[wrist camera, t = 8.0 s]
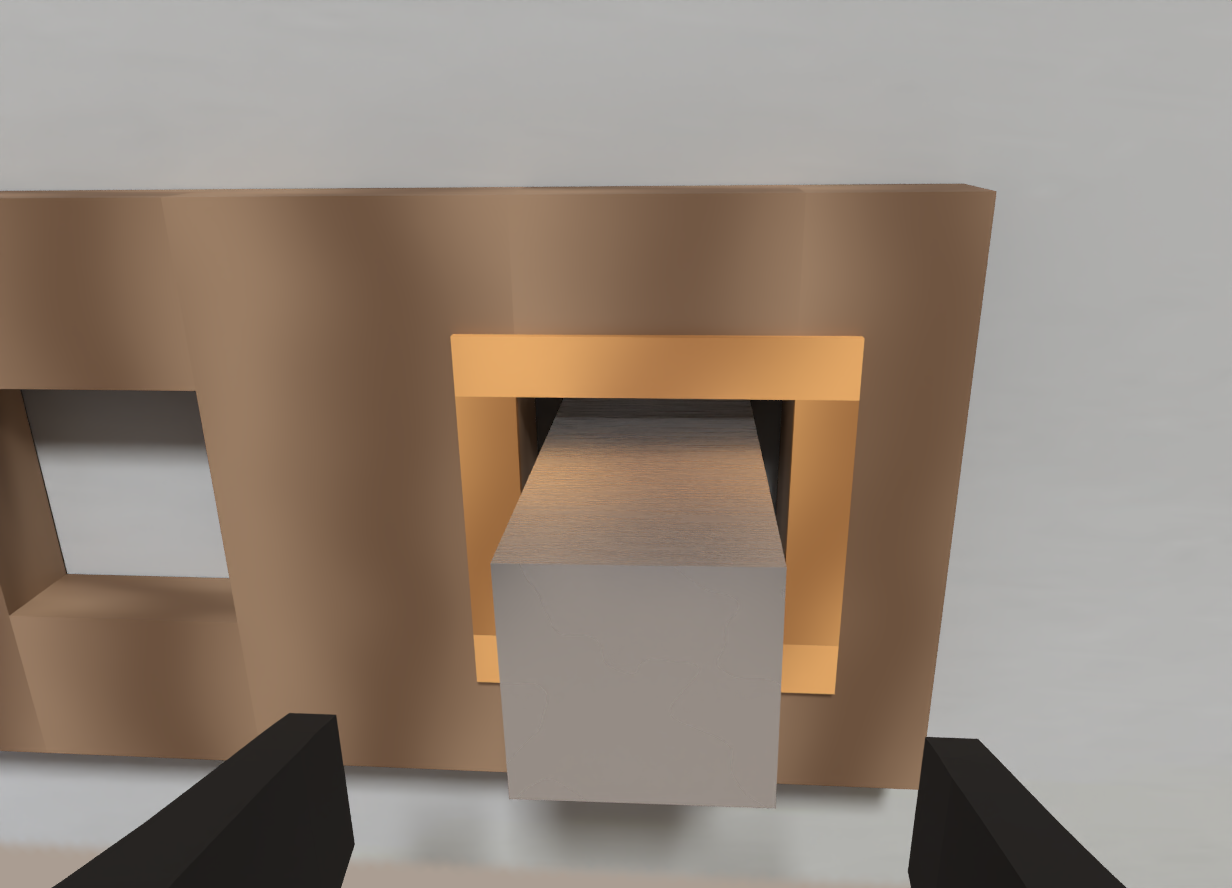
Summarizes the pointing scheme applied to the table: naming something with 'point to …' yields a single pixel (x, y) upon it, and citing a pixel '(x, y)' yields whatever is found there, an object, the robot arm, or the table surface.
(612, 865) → the table surface
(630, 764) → the steel peg
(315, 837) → the robot arm
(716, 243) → the wooden peg hole board
